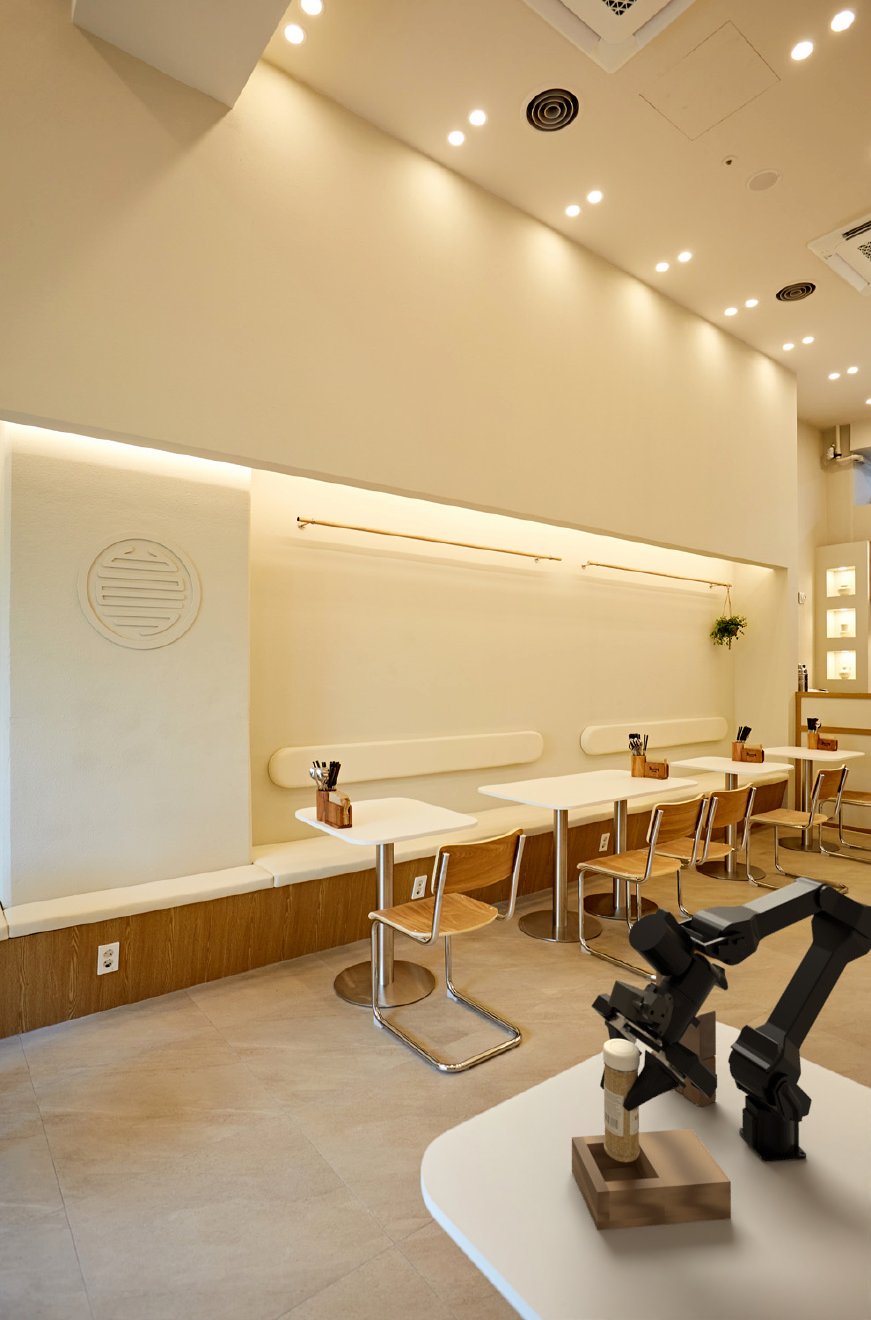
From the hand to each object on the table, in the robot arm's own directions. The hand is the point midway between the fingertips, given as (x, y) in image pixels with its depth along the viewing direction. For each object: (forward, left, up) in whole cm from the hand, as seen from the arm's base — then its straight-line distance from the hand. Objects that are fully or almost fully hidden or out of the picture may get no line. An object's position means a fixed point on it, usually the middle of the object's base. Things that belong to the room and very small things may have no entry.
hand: (613, 1098), depth 89 cm
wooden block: (-20, -22, -13) cm, 33 cm away
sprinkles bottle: (-1, -1, -7) cm, 7 cm away
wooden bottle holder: (-5, 0, -13) cm, 13 cm away
